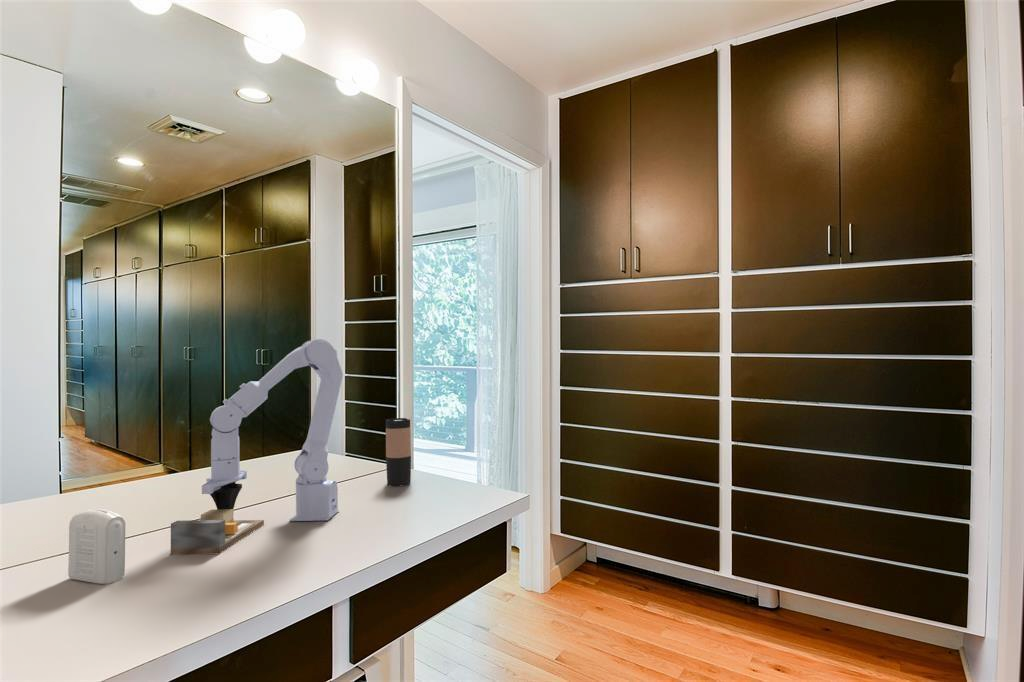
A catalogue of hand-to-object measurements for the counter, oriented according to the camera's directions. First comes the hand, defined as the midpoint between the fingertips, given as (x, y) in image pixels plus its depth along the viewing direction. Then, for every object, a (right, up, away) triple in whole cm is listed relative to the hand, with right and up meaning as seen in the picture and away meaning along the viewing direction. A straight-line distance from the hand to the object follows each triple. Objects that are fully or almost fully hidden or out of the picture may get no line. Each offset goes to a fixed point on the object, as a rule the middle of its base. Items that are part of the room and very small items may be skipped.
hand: (225, 517), depth 118 cm
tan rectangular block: (+1, -2, -3) cm, 4 cm away
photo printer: (-10, -3, -24) cm, 26 cm away
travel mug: (+30, -4, +43) cm, 53 cm away
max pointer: (+4, -1, -6) cm, 8 cm away
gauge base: (+1, -3, -5) cm, 6 cm away
